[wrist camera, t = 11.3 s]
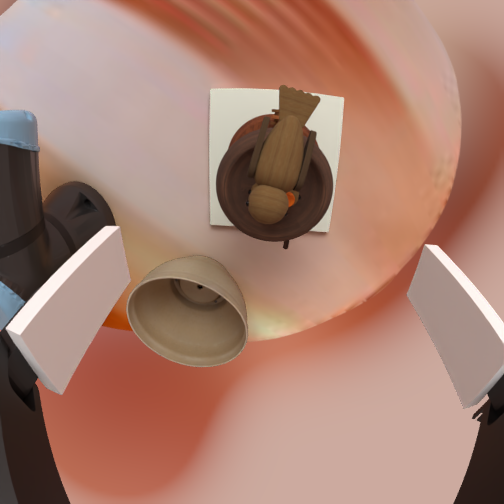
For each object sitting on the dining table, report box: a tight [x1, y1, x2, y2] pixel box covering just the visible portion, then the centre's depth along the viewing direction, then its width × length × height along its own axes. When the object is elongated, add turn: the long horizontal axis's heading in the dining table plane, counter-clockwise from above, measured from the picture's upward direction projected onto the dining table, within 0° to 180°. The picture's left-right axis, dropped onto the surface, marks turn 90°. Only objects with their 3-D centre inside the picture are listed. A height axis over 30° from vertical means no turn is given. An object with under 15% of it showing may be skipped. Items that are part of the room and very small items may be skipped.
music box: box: [216, 85, 333, 249], centre depth 23 cm, size 15×11×20 cm
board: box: [209, 88, 344, 232], centre depth 32 cm, size 16×18×1 cm
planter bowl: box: [126, 256, 248, 367], centre depth 37 cm, size 16×16×11 cm
